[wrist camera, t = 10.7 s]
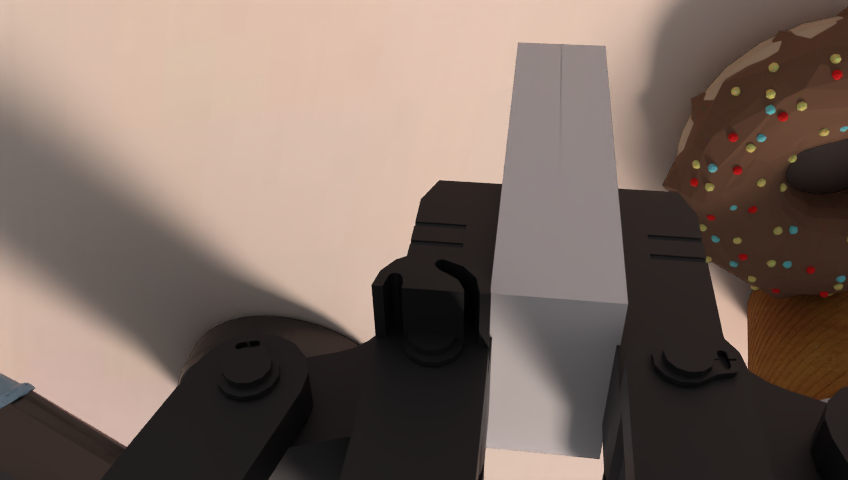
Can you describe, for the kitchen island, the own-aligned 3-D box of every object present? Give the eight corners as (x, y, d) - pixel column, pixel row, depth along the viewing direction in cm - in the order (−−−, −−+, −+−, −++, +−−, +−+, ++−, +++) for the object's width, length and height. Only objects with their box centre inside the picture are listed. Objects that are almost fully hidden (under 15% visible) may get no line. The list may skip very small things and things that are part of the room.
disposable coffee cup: (707, 361, 47) (733, 551, 38) (726, 234, 41) (762, 424, 32) (886, 368, 45) (958, 571, 36) (933, 236, 39) (1034, 439, 30)
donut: (728, -36, 33) (745, 16, 29) (1069, 28, 32) (1132, 90, 28) (626, 229, 42) (629, 294, 38) (889, 282, 41) (918, 354, 38)
